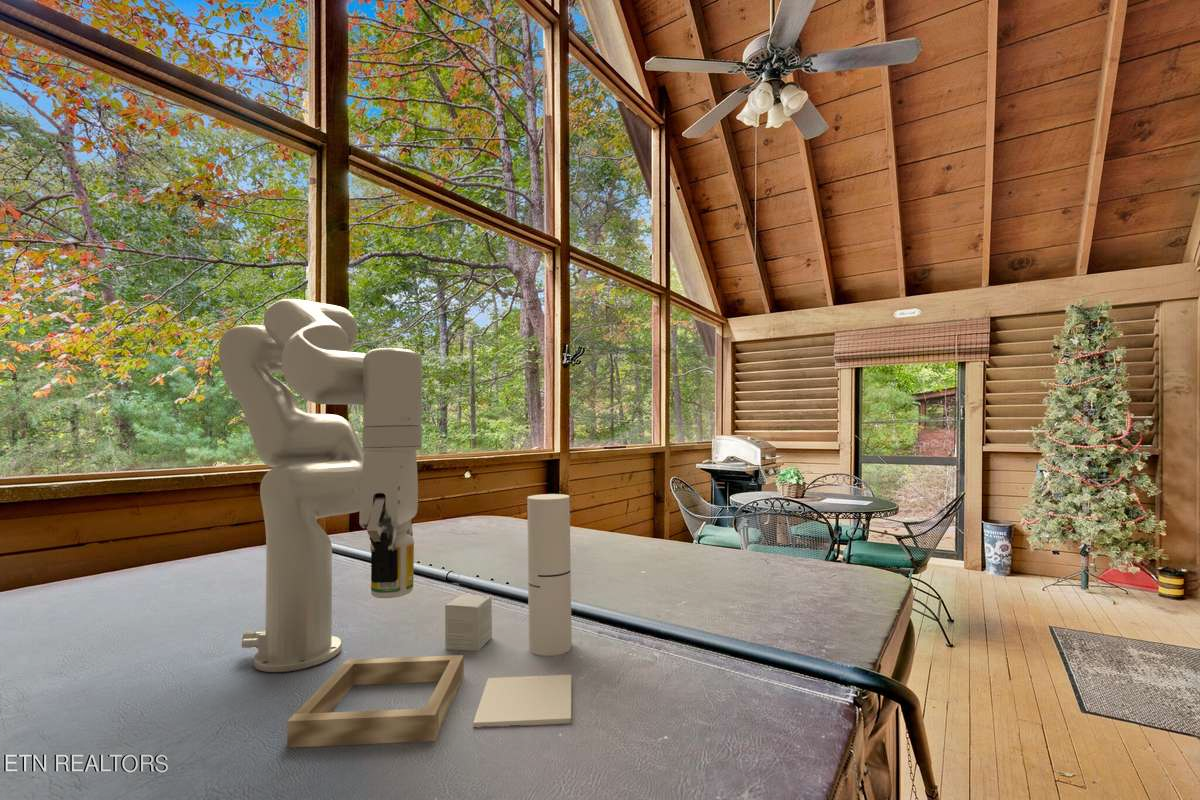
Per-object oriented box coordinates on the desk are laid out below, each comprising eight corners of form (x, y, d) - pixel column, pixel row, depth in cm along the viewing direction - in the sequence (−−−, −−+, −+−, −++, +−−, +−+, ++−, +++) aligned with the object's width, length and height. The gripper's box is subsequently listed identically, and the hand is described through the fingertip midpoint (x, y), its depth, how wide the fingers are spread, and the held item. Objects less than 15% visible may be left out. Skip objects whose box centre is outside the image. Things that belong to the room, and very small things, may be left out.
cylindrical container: (565, 657, 87) (563, 499, 88) (522, 654, 89) (521, 499, 90) (576, 640, 94) (574, 494, 95) (536, 637, 96) (535, 493, 97)
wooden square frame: (287, 747, 63) (287, 721, 64) (347, 680, 80) (347, 659, 81) (435, 740, 64) (435, 714, 65) (463, 675, 81) (463, 655, 81)
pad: (473, 727, 67) (473, 722, 67) (488, 682, 79) (488, 678, 79) (571, 723, 68) (570, 718, 68) (571, 678, 80) (571, 674, 80)
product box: (460, 635, 97) (460, 593, 98) (493, 637, 96) (492, 595, 96) (444, 649, 91) (444, 604, 92) (478, 651, 90) (477, 606, 90)
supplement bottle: (383, 601, 69) (383, 525, 70) (363, 594, 73) (363, 521, 73) (421, 591, 73) (421, 519, 74) (400, 584, 77) (401, 516, 77)
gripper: (386, 439, 83) (386, 560, 82) (337, 442, 66) (336, 595, 65) (436, 438, 83) (437, 559, 82) (400, 440, 66) (400, 593, 65)
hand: (392, 573), depth 73 cm, fingers closed on supplement bottle, 5 cm apart
